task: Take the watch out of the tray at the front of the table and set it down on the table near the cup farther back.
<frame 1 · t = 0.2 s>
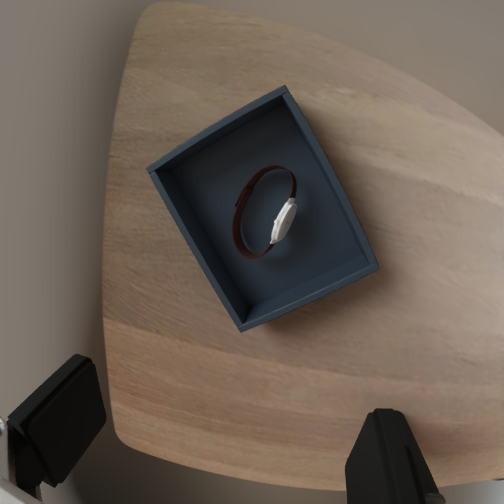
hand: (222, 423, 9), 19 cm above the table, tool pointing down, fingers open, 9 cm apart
tray: (266, 208, 27), on the table
drinking cup: (385, 423, 31), on the table
watch: (266, 209, 27), resting on tray
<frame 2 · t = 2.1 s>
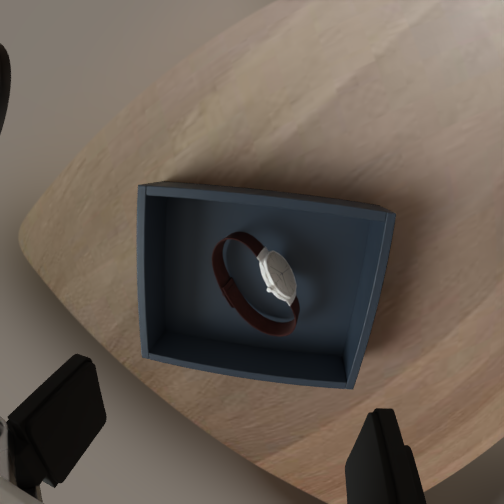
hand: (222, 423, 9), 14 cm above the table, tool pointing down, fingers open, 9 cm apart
tray: (259, 276, 23), on the table
watch: (259, 277, 23), resting on tray
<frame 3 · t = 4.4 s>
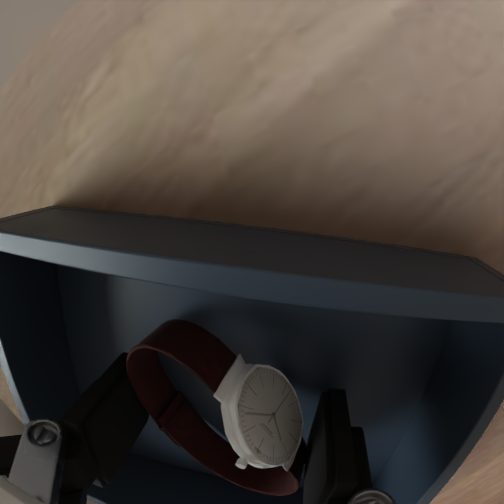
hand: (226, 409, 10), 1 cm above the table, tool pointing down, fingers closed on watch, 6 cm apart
tray: (233, 390, 11), on the table
watch: (232, 393, 11), resting on tray, touching gripper
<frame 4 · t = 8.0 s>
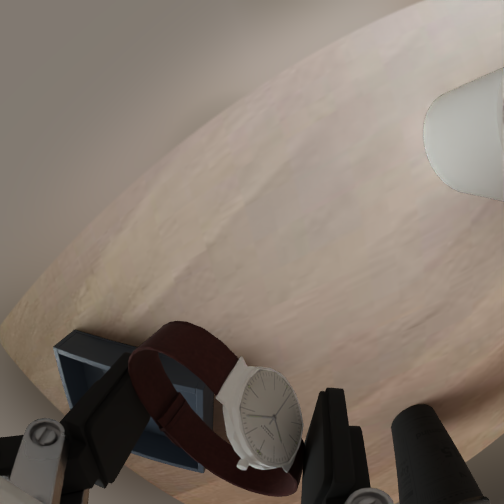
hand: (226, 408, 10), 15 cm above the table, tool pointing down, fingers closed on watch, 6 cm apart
tray: (142, 394, 29), on the table
cup: (477, 163, 20), on the table
drinking cup: (413, 419, 26), on the table
watch: (232, 395, 11), point 14 cm above the table, touching gripper
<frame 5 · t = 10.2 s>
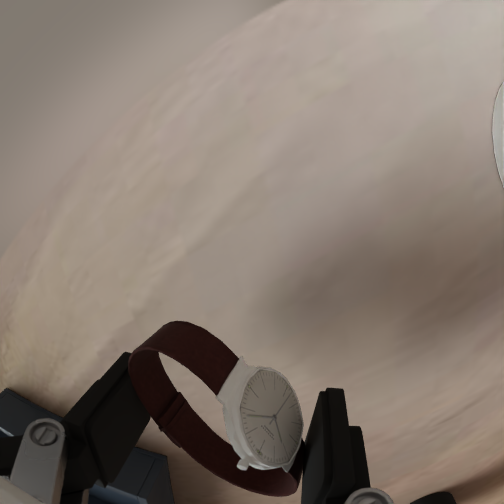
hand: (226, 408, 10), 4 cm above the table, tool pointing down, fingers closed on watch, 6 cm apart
tray: (90, 467, 20), on the table
watch: (232, 395, 11), point 3 cm above the table, touching gripper
when the fingers open (1 cm above the table, at t = 11.6 s): watch stays where it is, on the table.
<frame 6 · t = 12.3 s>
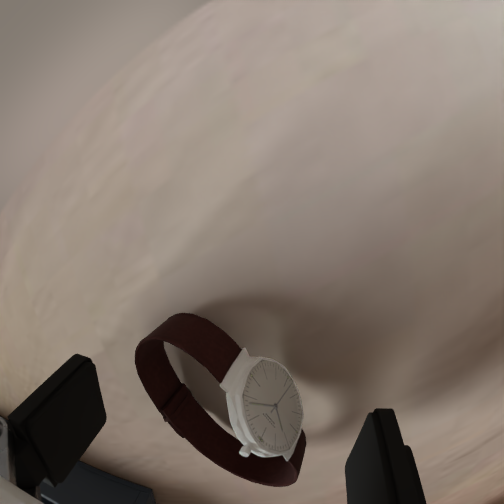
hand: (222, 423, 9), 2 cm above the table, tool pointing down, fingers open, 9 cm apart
tray: (75, 490, 17), on the table
watch: (235, 386, 11), on the table
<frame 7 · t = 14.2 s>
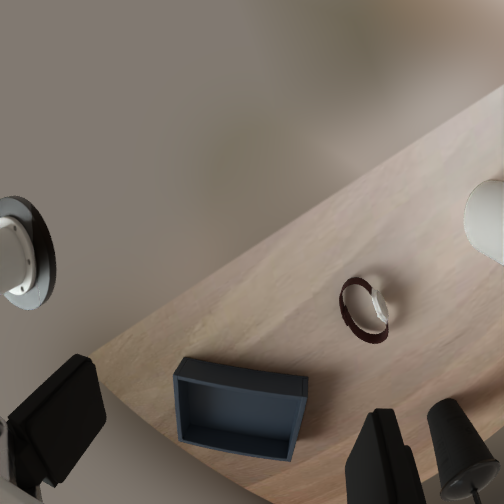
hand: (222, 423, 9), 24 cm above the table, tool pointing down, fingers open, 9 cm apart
tray: (241, 404, 38), on the table
cup: (497, 232, 28), on the table
drinking cup: (442, 410, 34), on the table
watch: (362, 305, 32), on the table
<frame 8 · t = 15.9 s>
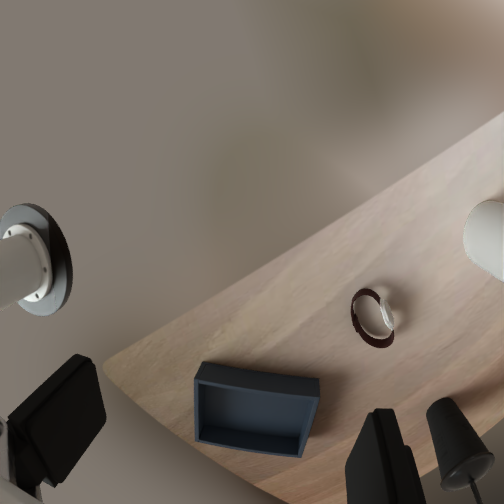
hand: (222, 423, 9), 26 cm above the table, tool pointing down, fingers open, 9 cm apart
tray: (255, 405, 41), on the table
cup: (492, 246, 31), on the table
drinking cup: (440, 408, 37), on the table
watch: (370, 313, 35), on the table
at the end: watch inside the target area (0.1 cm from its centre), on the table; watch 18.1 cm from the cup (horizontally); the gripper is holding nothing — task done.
